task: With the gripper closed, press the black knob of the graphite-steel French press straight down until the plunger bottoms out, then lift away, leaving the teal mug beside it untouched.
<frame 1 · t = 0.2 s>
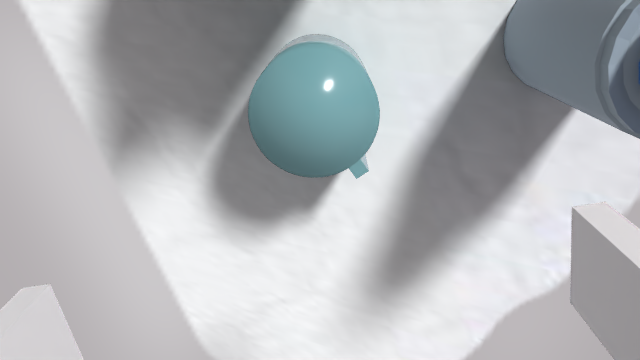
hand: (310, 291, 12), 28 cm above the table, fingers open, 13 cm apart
spray bottle: (562, 32, 37), on the table
mug: (316, 86, 39), on the table
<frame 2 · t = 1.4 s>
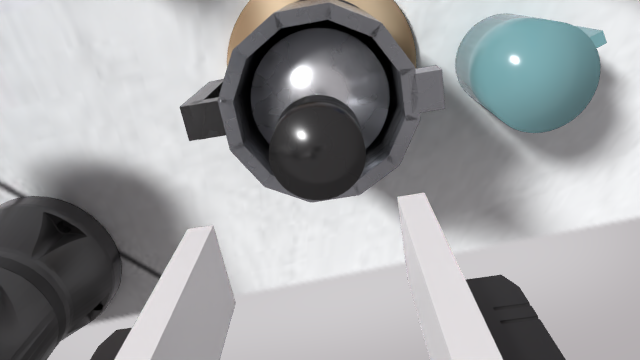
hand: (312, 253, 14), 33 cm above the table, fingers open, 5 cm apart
carafe: (321, 69, 44), resting on trivet
trivet: (321, 68, 45), on the table
mug: (500, 60, 44), on the table
plunger: (318, 121, 28), point 18 cm above the table, slide at 0.0 cm
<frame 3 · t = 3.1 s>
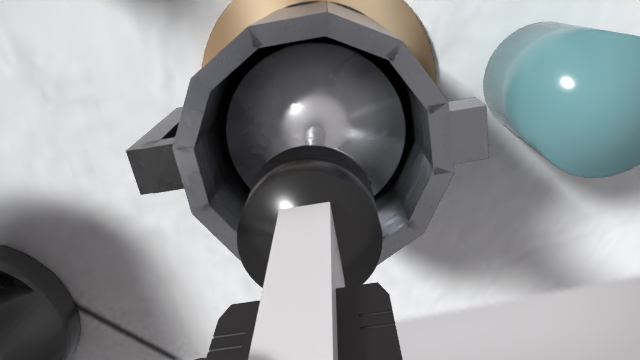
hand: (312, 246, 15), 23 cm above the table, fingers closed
carafe: (318, 91, 36), resting on trivet
trivet: (318, 89, 36), on the table
mug: (538, 79, 36), on the table
plunger: (313, 172, 20), point 17 cm above the table, slide at 1.2 cm, touching gripper
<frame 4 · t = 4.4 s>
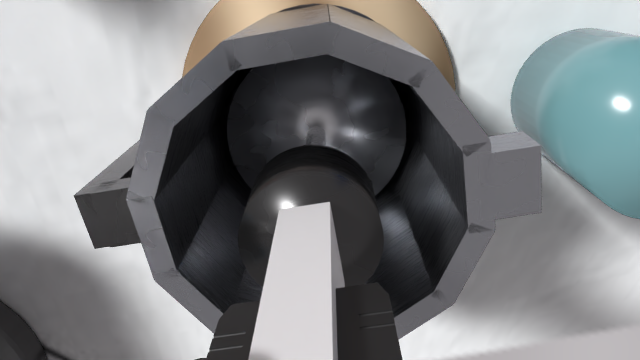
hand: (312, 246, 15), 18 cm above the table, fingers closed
carafe: (317, 109, 30), resting on trivet
trivet: (318, 106, 31), on the table
mug: (575, 94, 31), on the table
plunger: (314, 171, 20), point 12 cm above the table, slide at 6.7 cm, touching gripper
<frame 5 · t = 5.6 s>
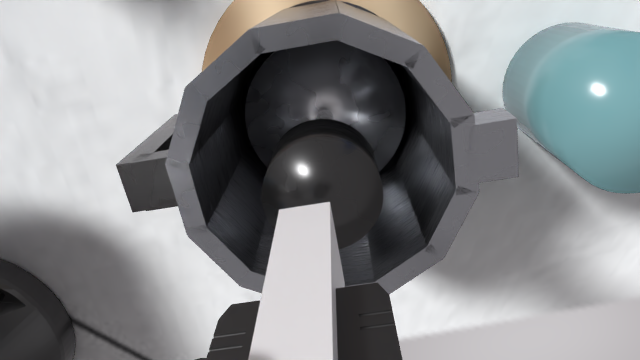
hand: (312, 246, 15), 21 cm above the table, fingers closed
carafe: (325, 96, 33), resting on trivet
trivet: (325, 94, 34), on the table
mug: (562, 83, 33), on the table
plunger: (324, 146, 23), point 12 cm above the table, slide at 6.7 cm
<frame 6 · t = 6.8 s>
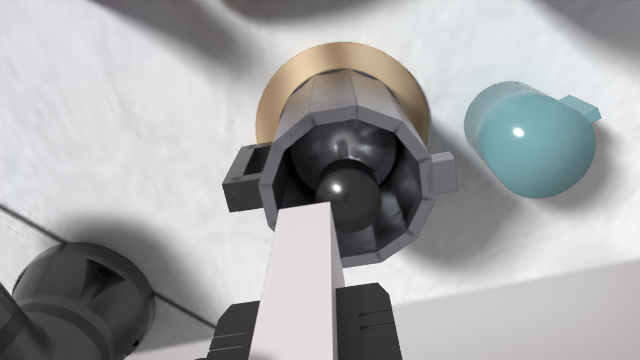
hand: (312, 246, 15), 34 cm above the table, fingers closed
carafe: (341, 131, 48), resting on trivet
trivet: (341, 130, 49), on the table
mug: (504, 121, 48), on the table
plunger: (345, 171, 38), point 12 cm above the table, slide at 6.7 cm
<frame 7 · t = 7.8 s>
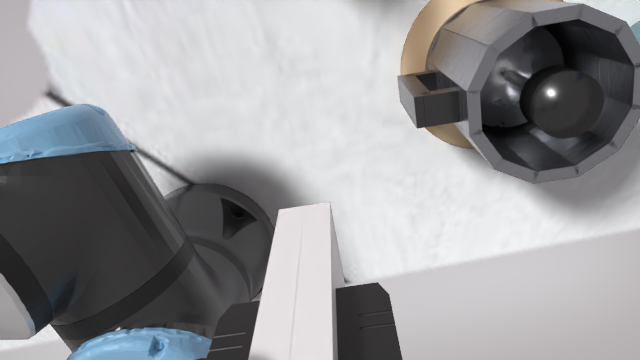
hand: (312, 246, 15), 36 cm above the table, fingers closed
carafe: (489, 65, 48), resting on trivet
trivet: (487, 64, 48), on the table
plunger: (533, 88, 38), point 12 cm above the table, slide at 6.7 cm
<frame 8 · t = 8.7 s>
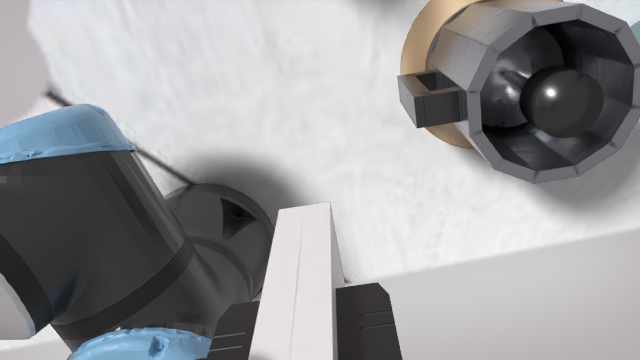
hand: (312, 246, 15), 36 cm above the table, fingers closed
carafe: (489, 65, 48), resting on trivet
trivet: (487, 64, 48), on the table
plunger: (533, 87, 38), point 12 cm above the table, slide at 6.7 cm
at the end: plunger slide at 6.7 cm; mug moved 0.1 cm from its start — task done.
